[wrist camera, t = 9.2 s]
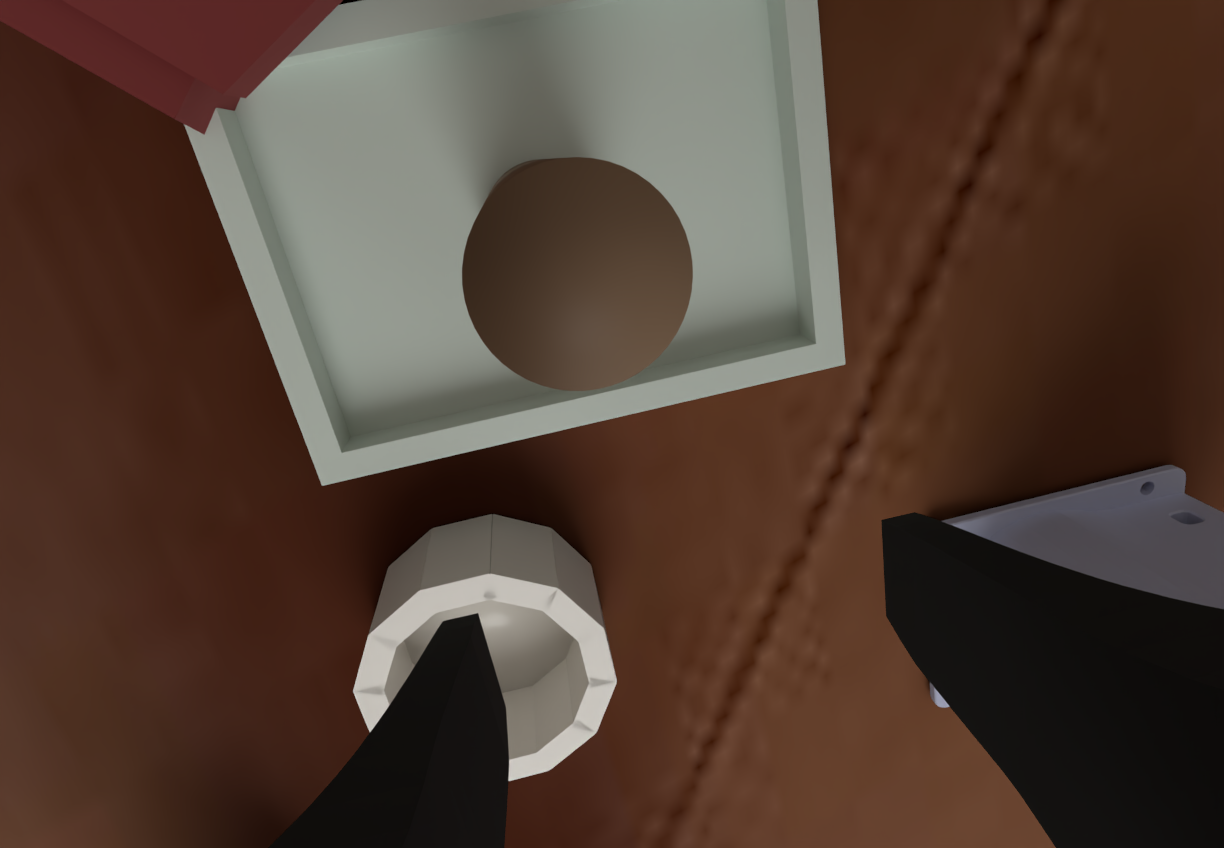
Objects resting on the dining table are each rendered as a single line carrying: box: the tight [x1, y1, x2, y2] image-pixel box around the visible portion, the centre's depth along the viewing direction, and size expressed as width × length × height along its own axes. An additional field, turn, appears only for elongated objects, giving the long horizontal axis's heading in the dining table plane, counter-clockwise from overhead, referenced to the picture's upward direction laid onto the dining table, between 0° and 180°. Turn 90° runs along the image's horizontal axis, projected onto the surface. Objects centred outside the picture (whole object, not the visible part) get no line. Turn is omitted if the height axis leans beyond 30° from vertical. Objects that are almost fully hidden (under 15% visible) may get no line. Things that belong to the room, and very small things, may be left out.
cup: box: [353, 514, 617, 781], centre depth 22 cm, size 7×7×4 cm
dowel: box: [462, 157, 693, 391], centre depth 15 cm, size 3×3×10 cm
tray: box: [184, 0, 845, 486], centre depth 19 cm, size 15×11×2 cm
